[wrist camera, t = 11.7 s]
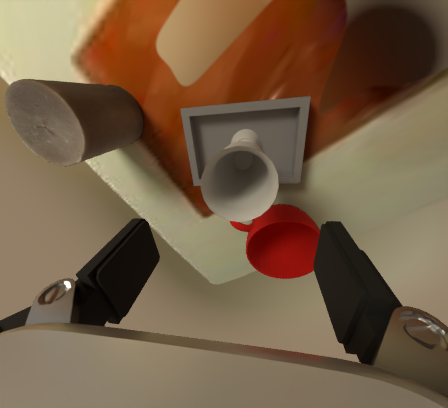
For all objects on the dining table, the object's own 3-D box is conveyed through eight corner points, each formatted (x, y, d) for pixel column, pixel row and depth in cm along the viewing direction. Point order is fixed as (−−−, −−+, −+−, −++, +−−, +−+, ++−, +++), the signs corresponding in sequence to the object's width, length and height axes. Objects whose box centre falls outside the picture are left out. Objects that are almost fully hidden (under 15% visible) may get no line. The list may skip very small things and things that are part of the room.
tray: (305, 96, 28) (310, 96, 26) (296, 177, 34) (300, 183, 32) (186, 107, 31) (180, 108, 29) (197, 179, 37) (193, 185, 35)
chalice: (257, 169, 34) (261, 229, 18) (221, 159, 34) (194, 210, 18) (272, 128, 30) (293, 158, 14) (231, 116, 30) (209, 135, 14)
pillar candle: (108, 70, 30) (-2, 50, 17) (155, 119, 33) (89, 133, 20) (84, 114, 34) (-19, 125, 21) (127, 155, 37) (58, 185, 24)
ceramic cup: (249, 171, 35) (247, 195, 27) (324, 209, 37) (346, 242, 28) (221, 220, 42) (213, 252, 33) (286, 250, 43) (295, 288, 35)
